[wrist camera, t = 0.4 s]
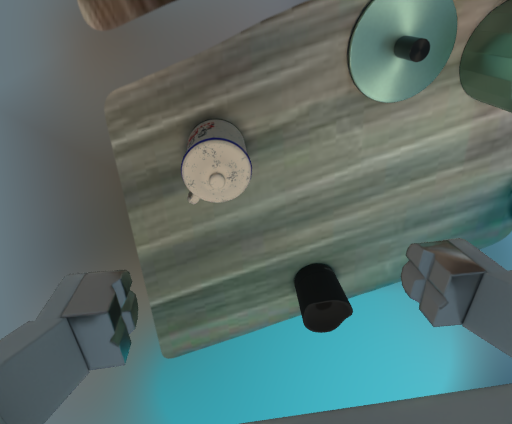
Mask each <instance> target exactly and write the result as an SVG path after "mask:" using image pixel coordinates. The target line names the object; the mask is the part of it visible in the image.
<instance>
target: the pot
mask: <svg viewBox="0 0 512 424" xmlns="http://www.w3.org/2000/svg"><path fill="white" fill-rule="evenodd" d="M460 80H461V84H462V86H463V88H464V90H465V91H466V93H467V94H468V95H469V96H471V97H472V98H474V99H477V100H478V101H481V102H483V103H486V104H489V105H492V106H494V107H497V108H500V109H503V110H506V111H508V112H511V113H512V0H508V1H506V2H505V3H503V4H501V5H500V6H498V7H497V8H496V9H494V10H493V11H492V12H491V13H490V14H489V15H487V16H486V17H485V19H484V20H483V21H482V22H481V23H480V24H479V25H478V27H477V28H476V29H475V31H474V32H473V34H472V35H471V37H470V39H469V41H468V42H467V45H466V47H465V49H464V52H463V55H462V58H461V63H460Z"/></svg>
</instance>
